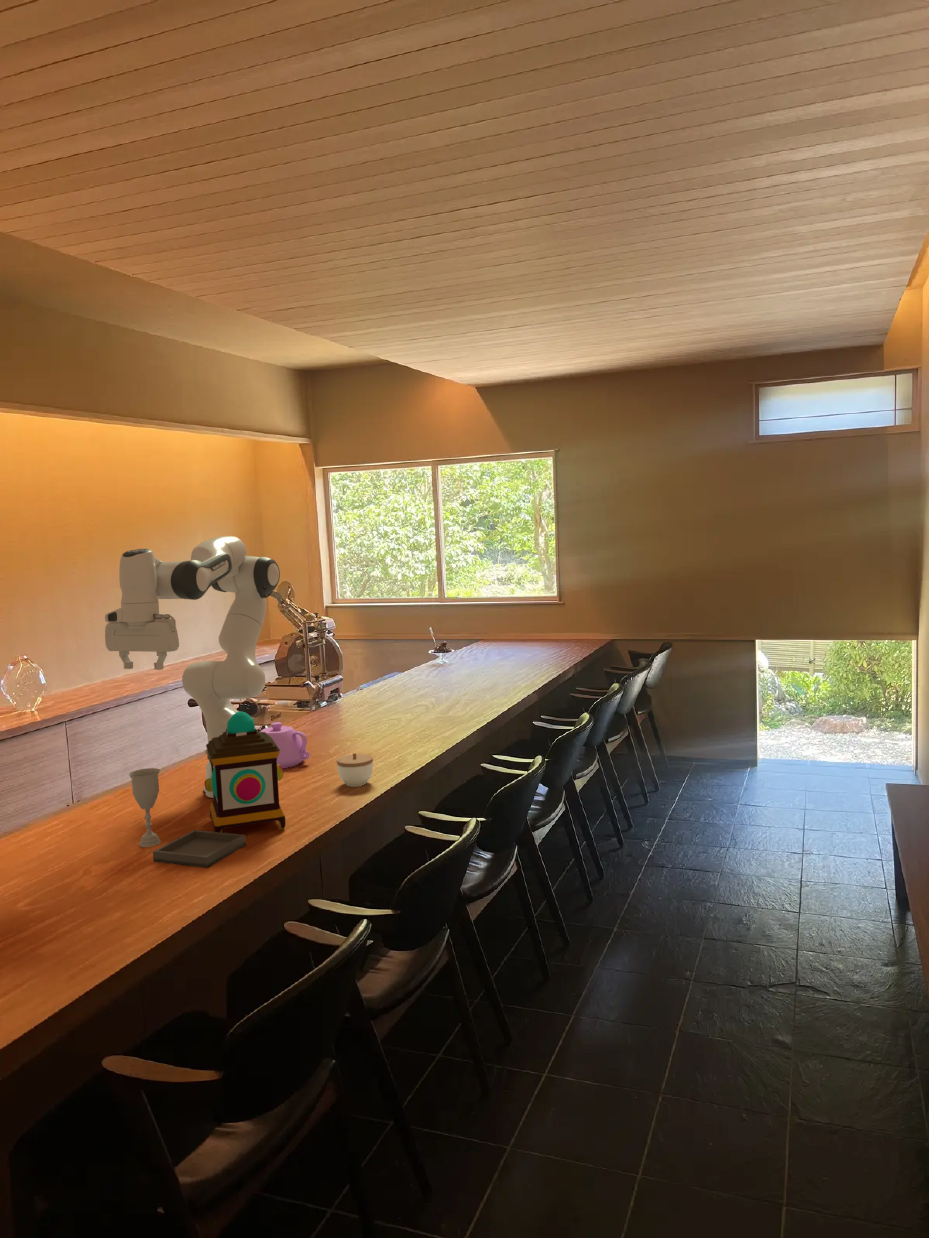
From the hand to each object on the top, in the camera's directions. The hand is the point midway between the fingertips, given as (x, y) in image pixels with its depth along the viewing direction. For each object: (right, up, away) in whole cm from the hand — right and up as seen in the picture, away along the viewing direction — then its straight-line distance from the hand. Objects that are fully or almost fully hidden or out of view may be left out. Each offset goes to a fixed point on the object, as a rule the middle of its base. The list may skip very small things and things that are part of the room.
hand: (143, 669), depth 216 cm
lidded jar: (+48, -37, +42) cm, 73 cm away
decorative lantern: (+24, -41, +8) cm, 48 cm away
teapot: (+18, -36, +70) cm, 80 cm away
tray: (+18, -43, -11) cm, 48 cm away
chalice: (+3, -43, -3) cm, 43 cm away
